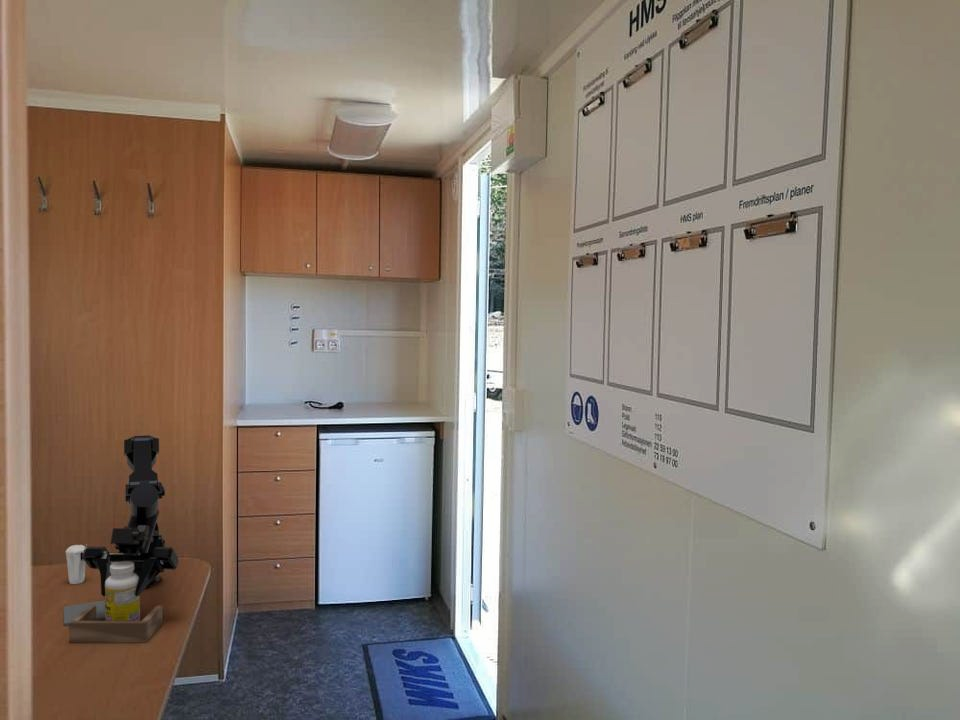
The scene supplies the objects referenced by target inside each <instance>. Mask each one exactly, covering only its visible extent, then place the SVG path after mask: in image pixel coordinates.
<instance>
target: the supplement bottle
mask: <svg viewBox="0 0 960 720" xmlns="http://www.w3.org/2000/svg"><path fill="white" fill-rule="evenodd" d="M133 571H134V563H133V562H131V561H122V562H113V563H112V565H111V566H110V573H111V576H110V577H108V578H107V580H106V581H105V596H104V600H105V619H104V621H140V618H141V614H140V613H141V607H140V606H141V605H140V603H141V602H140V601H141V600H140V598H141V597H140V596H141V594H140V595H139V596H136V595H135V592H136V588H137V585H138V582H139V576H138V575H137V574H135V573H133Z"/></svg>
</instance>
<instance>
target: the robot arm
mask: <svg viewBox="0 0 960 720" xmlns="http://www.w3.org/2000/svg"><path fill="white" fill-rule="evenodd" d="M159 454H160V439H159V438H157V437H154V436H153V435H150V434H146V435H133V436H131V437H129V438H128V439H124V440H123V456H124V457H126V465H127V466H128V467H129V469H131V471H132V473H130V474H129V475H128V484H125V502H126V503H127V502H128V503H129V505H130V506H129V509H130V516H129V520H128V522H127V525H126V526H123V528H119V527H118V528H117V527H114V528H112V532H111V538H110V545H113V544H114V548H115V550H117V551H118V552H110V551H109V550H108V549H107V548H106V546H88V547H86V549H85V550H84V553H83V555H82V558H83V560H84V561H85V562H86V563H85V564H86V566H88V568H89V569H94V570H98V571H99V576H100V592H101V593H100V595H101V596H102V597H105V581H106V580H107V578H108V577H110V576H111V573H110V566H111V565H112V564H114V563H117V562H122V561H131V562H133V563H134V571H133V573H135V574H137V575H138V576H139V582H138V585H137V588H136V592H135V595H136V596H139V595H140V596H141V594H142V592H144V590H146V589H149V588H152V587H153V586H155V584H158V583H159V582H160V581H161V580H163V577H162V576H158V575H160V574H161V573H163V574H164V573H165V570H176V569H178V565H179V557H178V555H177V553H176V551H175V549H174V548H173V547H172V546H165V545H166V544H165V543H166V542H165V541H166V540H165V539H164V537H163V536H162V534H159V532H160V531H159V528H160V527H159V525H158V523H157V522H158V517H159V514H160V510H159V503H160V502H159V500H161V499H163V497H164V496H165V495H166V493H165V492H166V491H165V490H166V489H165V486H164V485H163V484H162V482H161V481H159V476H158V475H159V474H158V473H157V472H156V471H154V470H153V467H154V466H155V465H156V462H157V455H159Z"/></svg>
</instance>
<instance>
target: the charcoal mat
mask: <svg viewBox="0 0 960 720" xmlns="http://www.w3.org/2000/svg"><path fill="white" fill-rule="evenodd" d="M90 605H96V621H103V620H105V599H104V600H100V601H93V602H85V603H80V604H73V605H68V606H67V605H66V606H63V626H64V627H65V626H66V627H67V626H69V623H70V622H71V621H72V620H74V619H75V618H76V617H77V616H78V615H80V614H81V613H82V612H83V611H84V610H85V609H87V608H88V607H89V606H90Z"/></svg>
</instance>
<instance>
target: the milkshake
mask: <svg viewBox="0 0 960 720" xmlns="http://www.w3.org/2000/svg"><path fill="white" fill-rule="evenodd" d="M88 544H89V543H88V542H87V543H86V544H85V545H82V544H74V545H71V546H69V547H68V548H66V550H65V555H66V557H65V558H66V563H67V573H68V574H67V575H68V582H69V584H70V585H79V584H82V583H84V581H85V578H86V577H85V574H86V564H87V563H86V562H85V561H84V560H83V558H82V555H83V553H84V550H85V549H86V548H88V547H87V546H88Z"/></svg>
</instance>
